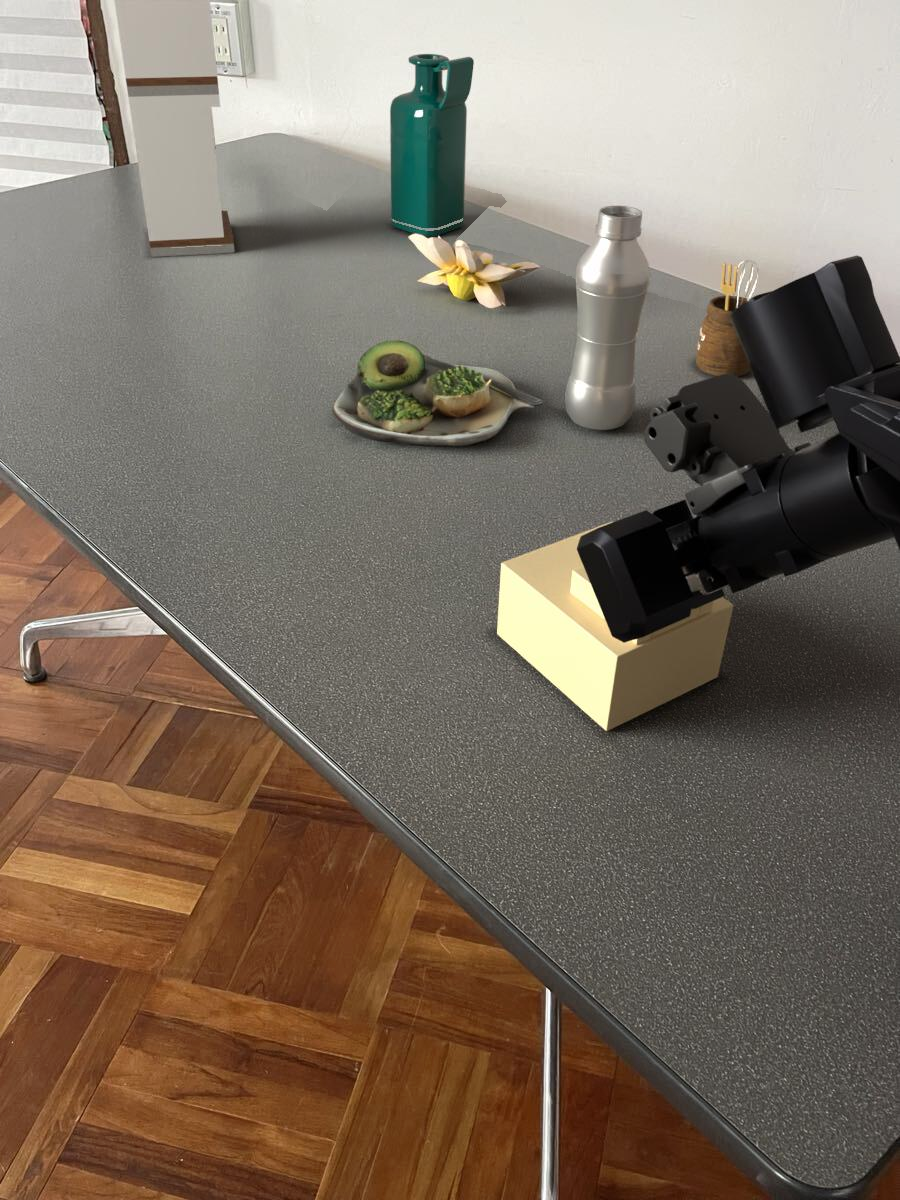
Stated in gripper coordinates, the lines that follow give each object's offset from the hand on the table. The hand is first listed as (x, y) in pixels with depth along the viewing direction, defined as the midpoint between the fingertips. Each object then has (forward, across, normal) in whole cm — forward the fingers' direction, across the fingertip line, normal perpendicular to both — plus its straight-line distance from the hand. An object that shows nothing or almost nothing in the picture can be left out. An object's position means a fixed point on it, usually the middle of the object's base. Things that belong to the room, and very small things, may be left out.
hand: (645, 570), depth 68 cm
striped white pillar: (+78, -11, -63) cm, 101 cm away
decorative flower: (+52, -32, -38) cm, 71 cm away
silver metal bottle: (+28, -23, -14) cm, 39 cm away
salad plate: (+36, -10, -22) cm, 43 cm away
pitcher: (+70, -42, -55) cm, 99 cm away
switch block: (+8, 0, +4) cm, 9 cm away
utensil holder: (+30, -42, -16) cm, 54 cm away
